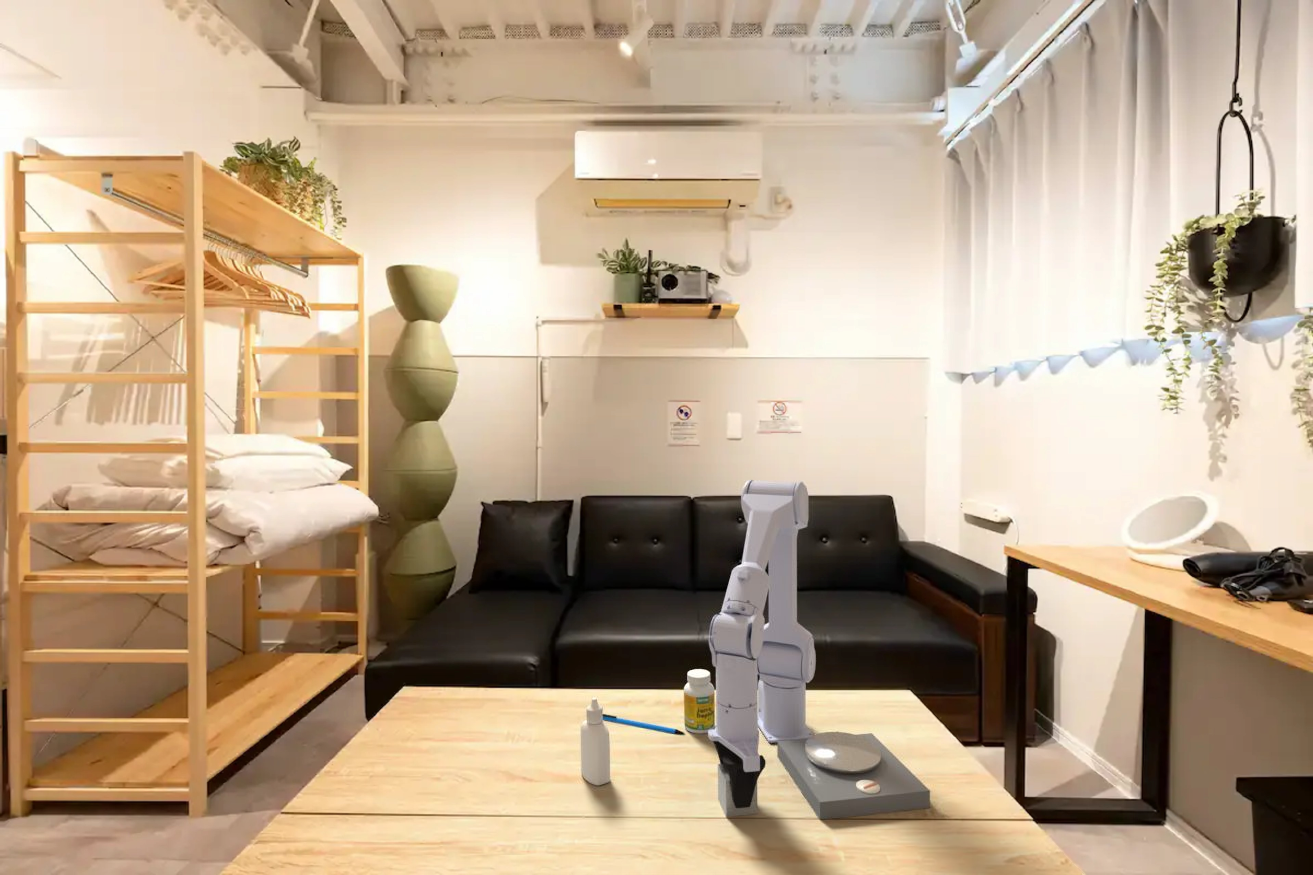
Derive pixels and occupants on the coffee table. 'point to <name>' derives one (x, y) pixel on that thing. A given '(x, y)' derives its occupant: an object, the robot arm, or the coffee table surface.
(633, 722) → the pen
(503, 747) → the coffee table surface
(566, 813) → the coffee table surface
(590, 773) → the eye dropper bottle
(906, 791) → the scale base
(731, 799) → the block
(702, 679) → the supplement bottle
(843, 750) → the pan
